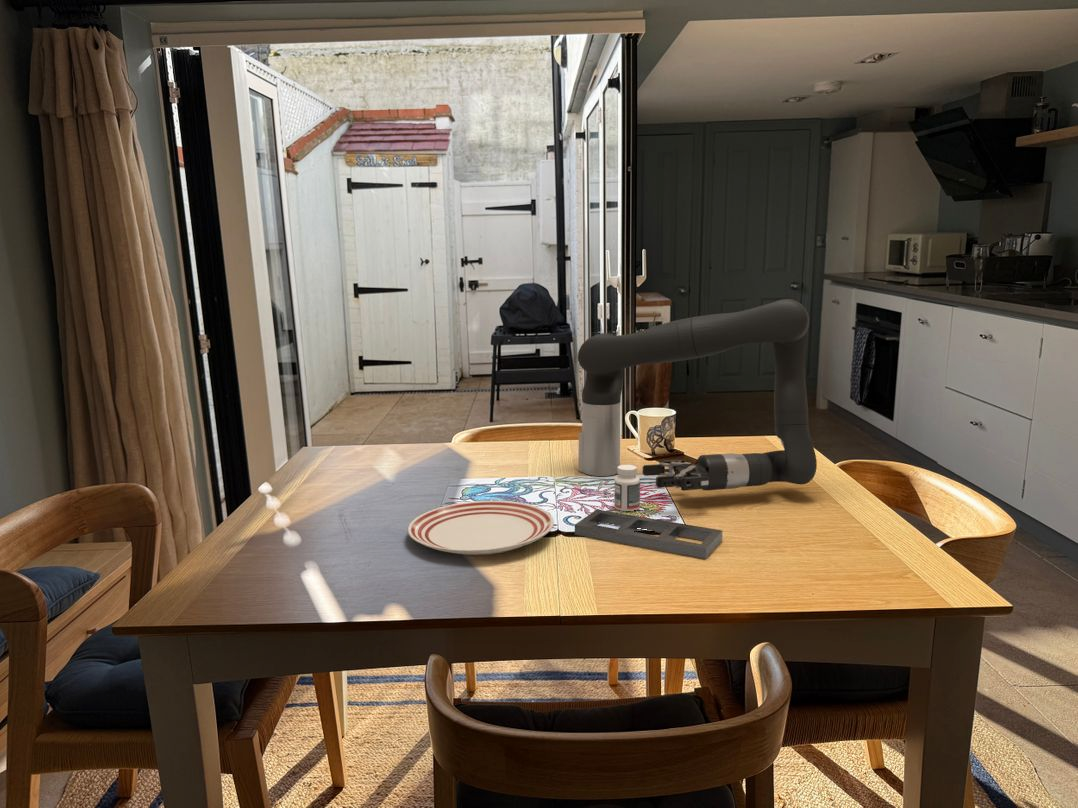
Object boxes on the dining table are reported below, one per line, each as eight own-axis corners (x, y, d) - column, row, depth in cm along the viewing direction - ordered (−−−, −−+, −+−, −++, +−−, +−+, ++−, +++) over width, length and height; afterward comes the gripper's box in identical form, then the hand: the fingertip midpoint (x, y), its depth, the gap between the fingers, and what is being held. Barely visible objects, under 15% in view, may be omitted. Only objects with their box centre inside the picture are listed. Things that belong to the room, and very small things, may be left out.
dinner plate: (380, 555, 142) (379, 537, 141) (448, 507, 167) (448, 492, 167) (522, 575, 133) (522, 557, 132) (572, 522, 158) (572, 506, 157)
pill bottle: (642, 505, 167) (642, 464, 165) (636, 513, 162) (637, 471, 160) (617, 502, 169) (618, 462, 167) (611, 510, 164) (612, 469, 162)
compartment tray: (574, 534, 151) (574, 524, 150) (596, 518, 159) (596, 509, 159) (705, 559, 138) (706, 548, 138) (722, 540, 147) (722, 530, 147)
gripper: (709, 446, 174) (639, 450, 171) (737, 463, 161) (661, 468, 158) (708, 478, 176) (638, 483, 173) (736, 498, 162) (660, 504, 159)
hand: (649, 476), depth 165 cm, fingers open, 8 cm apart
